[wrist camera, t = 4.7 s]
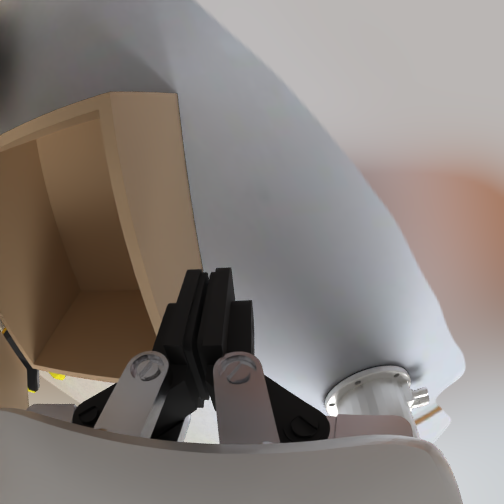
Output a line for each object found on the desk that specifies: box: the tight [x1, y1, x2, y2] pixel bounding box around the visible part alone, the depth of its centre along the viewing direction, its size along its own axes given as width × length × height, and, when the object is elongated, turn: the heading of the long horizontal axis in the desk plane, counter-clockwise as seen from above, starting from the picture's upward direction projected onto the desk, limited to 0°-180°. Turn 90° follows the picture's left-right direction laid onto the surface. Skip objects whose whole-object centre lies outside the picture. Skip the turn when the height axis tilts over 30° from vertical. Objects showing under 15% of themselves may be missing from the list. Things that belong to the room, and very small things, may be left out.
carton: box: [0, 92, 203, 383], centre depth 18 cm, size 14×17×11 cm
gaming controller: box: [2, 327, 66, 393], centre depth 30 cm, size 15×6×10 cm
